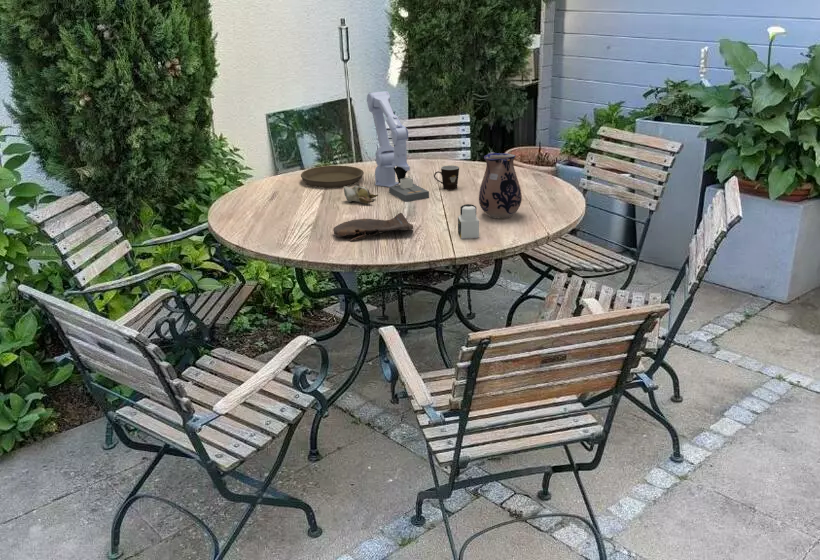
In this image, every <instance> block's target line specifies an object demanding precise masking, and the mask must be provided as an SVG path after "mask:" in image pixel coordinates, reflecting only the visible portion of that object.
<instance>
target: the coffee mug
mask: <svg viewBox="0 0 820 560" xmlns="http://www.w3.org/2000/svg"><path fill="white" fill-rule="evenodd" d="M437 174H440V175H441V179H442V180H441V181H440V180H439V179H438V178H437V177H436V175H437ZM459 174H460V166H457V165H448V164H447V165H443V166H441V167H440V171H439V170H438V171H436V172H435V173H434V174H433V177H434V180H436V181H437V182H439V183H441V184H442V187H443V188H442V189H443V190H445V191H455V190H457V189H458V182H459Z"/></svg>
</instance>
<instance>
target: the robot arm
mask: <svg viewBox="0 0 820 560" xmlns="http://www.w3.org/2000/svg"><path fill="white" fill-rule="evenodd" d="M366 102H367V108H368V111H369V112H370V113H372V118H373V122H374V127H375V132H376V136H377V140H378V144H379V148H378V149H377V150H376V151H375V163H376V165H377V166H376V167H375V170H374V176H375V177H374V179H375V181H374V182H375V184H374V186H378V187H387V188H389V187H390V186H397V185H400V179H403V178H406V175H407V173H408V171H411V170H410V169H411V167H410V165H409V163H408V159H407V158H408V156H407V153H408V152H407V140H408V138H409V130H408V128H407V127H406V126H405V125H403V124H402V122H401V121H400V118H399V117H398V115H397V114H395V113H394V111H393V108H392V106H391V94H390V93H389V91H388V90H385V91H374V92H368V93H367V96H366ZM384 115H385V116H384ZM385 117H386V120H385ZM386 123H387V125H388V128H389V130H390V136H391V140H392V144H393V146H392V145H391V143H390V140H389V135H388V130H387V125H386ZM396 180H397V181H396Z"/></svg>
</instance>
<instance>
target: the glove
mask: <svg viewBox="0 0 820 560" xmlns="http://www.w3.org/2000/svg"><path fill="white" fill-rule="evenodd" d="M395 230H397V231H399V230H401V231H413V230H414V225H413V224H412V223H410V222H409V221H408V219H407V218H406V217H405V215H404V213H402V212H399V213H397V214H396V215H395V216H394V217H392V218H391V219H387V220H386V219H385V220H384V219H375V218H360V219H359V218H358V219H351V220H347V221H344V222H341V223H339V224H338V225H336V226H334V227H333V230H332V231H333V234H334V236H335V237H338V238H342V237H345V236H355V235H356V234H360V235H358V236H356V237H353V238H352V239H350V242H354V241H356V240H362V239H365V238H366V236H368V237H369V236H370V237H373V236H375V235H377V234H382V233H386V232H387V233H388V232H390V231H395Z"/></svg>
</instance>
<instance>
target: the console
mask: <svg viewBox="0 0 820 560" xmlns="http://www.w3.org/2000/svg"><path fill="white" fill-rule="evenodd" d="M388 193H389V194H390V195H392V196H394V197H395V198H397V199H400V200H401V201H402V202H405V203H408V202H413V201H418V200H424V199H425V200H426V199H429V198H430V191H429V190H427V189H425V188H423V187H421V186H419V185H417V184H415V183H413V187H412V188H406V189H402V188H400V184H397V185H394V186H390V187H388Z"/></svg>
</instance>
